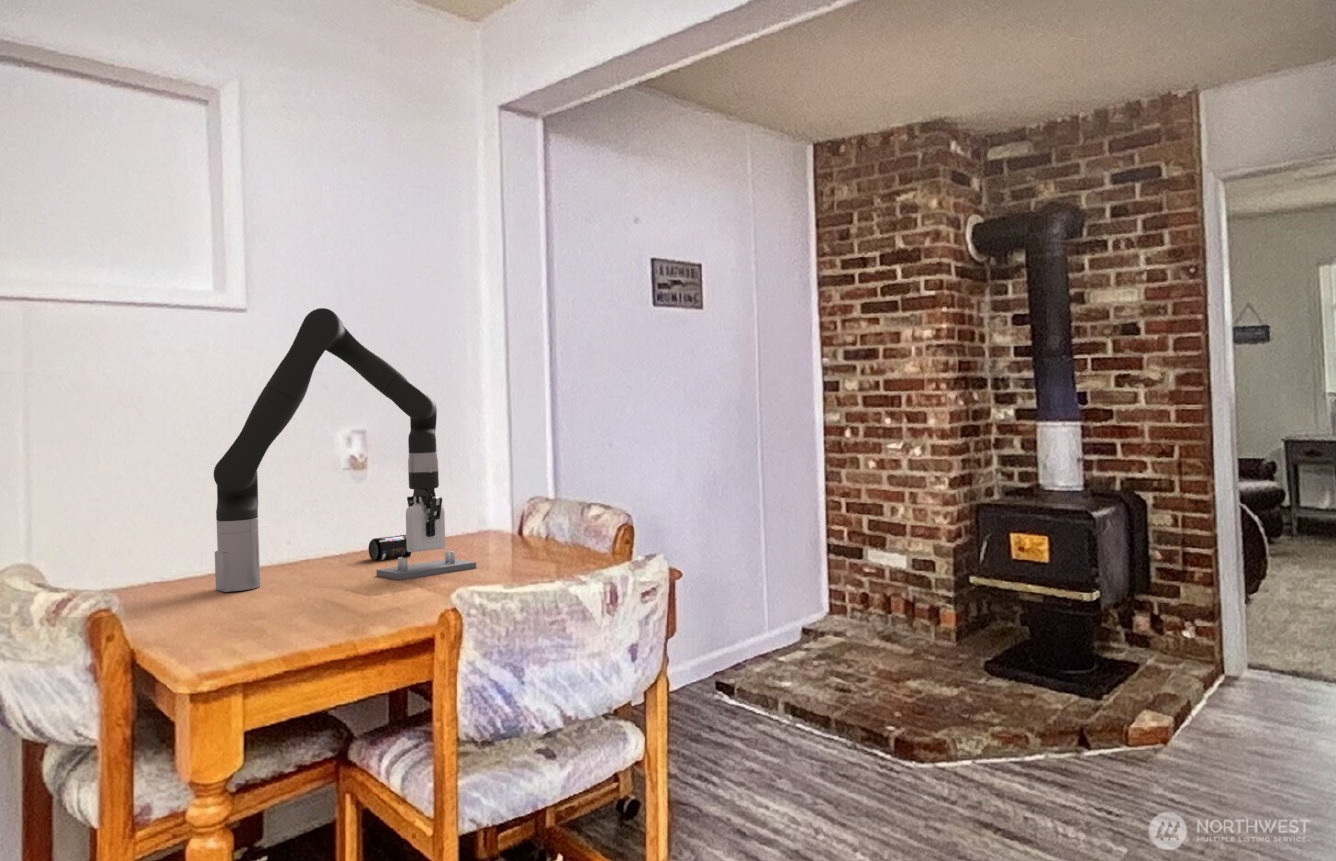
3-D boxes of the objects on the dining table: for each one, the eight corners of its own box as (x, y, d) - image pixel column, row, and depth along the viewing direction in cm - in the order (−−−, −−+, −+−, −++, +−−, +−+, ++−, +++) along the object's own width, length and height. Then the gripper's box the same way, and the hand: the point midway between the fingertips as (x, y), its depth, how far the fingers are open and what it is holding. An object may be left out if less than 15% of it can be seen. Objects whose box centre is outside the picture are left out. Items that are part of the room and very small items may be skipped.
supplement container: (365, 548, 252) (398, 544, 259) (373, 566, 248) (406, 562, 256) (372, 533, 248) (406, 529, 256) (380, 551, 245) (414, 547, 252)
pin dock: (476, 567, 230) (475, 550, 230) (400, 580, 214) (399, 561, 214) (451, 564, 238) (451, 548, 238) (376, 575, 222) (375, 558, 222)
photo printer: (440, 547, 231) (438, 501, 231) (448, 548, 228) (446, 501, 228) (404, 552, 224) (402, 504, 224) (412, 553, 221) (410, 504, 221)
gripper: (396, 471, 228) (398, 536, 228) (424, 471, 218) (427, 539, 218) (422, 469, 234) (424, 533, 234) (450, 469, 224) (453, 535, 224)
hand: (425, 535), depth 226 cm, fingers closed on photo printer, 4 cm apart
